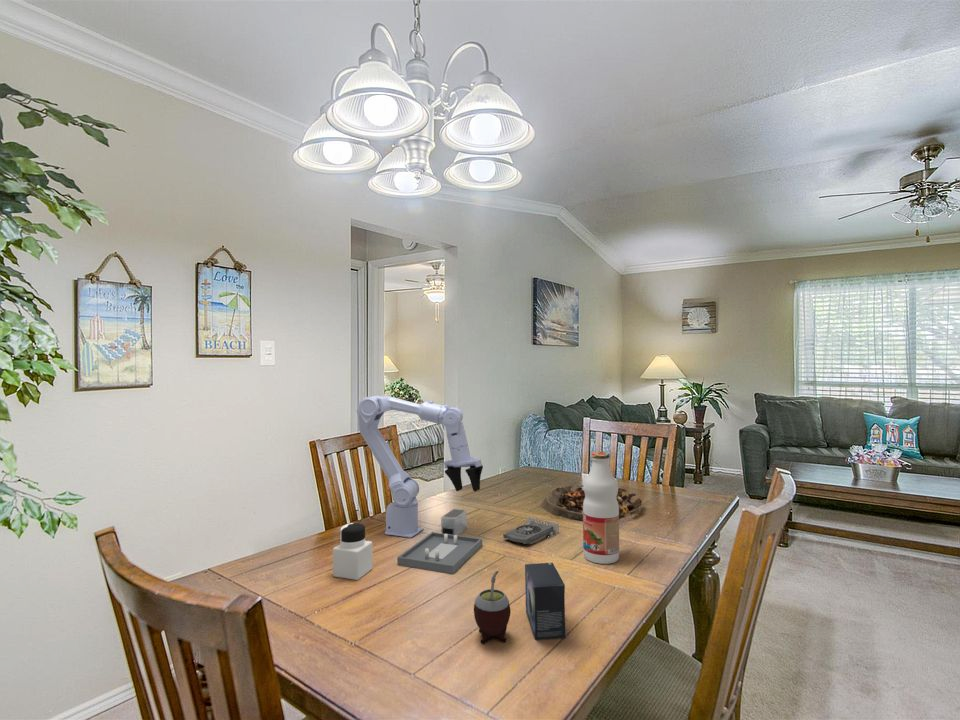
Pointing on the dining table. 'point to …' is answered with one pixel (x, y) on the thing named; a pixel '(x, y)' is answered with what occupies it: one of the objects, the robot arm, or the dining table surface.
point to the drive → (454, 522)
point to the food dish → (572, 503)
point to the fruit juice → (600, 512)
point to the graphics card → (532, 531)
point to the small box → (545, 601)
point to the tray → (440, 552)
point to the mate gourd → (492, 613)
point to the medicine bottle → (352, 553)
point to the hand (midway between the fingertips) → (468, 490)
